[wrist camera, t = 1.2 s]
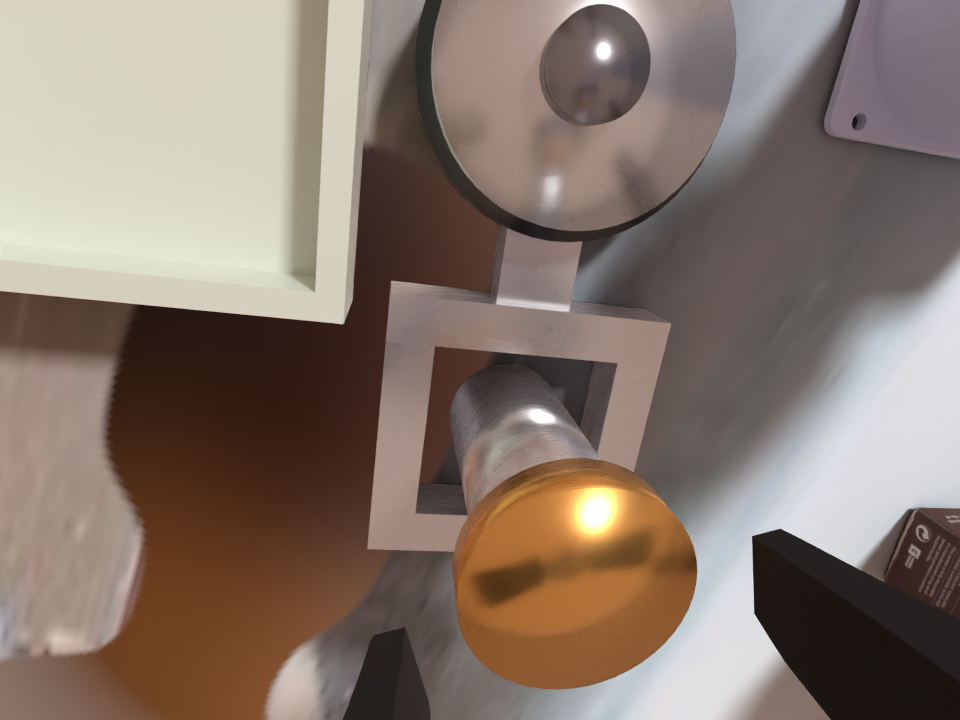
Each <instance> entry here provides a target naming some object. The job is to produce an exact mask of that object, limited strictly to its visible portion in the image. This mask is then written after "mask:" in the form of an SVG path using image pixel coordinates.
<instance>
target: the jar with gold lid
mask: <svg viewBox="0 0 960 720" xmlns="http://www.w3.org/2000/svg"><path fill="white" fill-rule="evenodd" d="M450 426H451V431H452V436H453V441H454V447H455V452H456V457H457V462H458V467H459V472H460V477H461V483H462V488H463V493H464V498H465V503H466V508H467V513H468V518H467V519H466V521H465V523H464V525H463V527H462V528H461V531H460V533H459V536H458V538H457V541H456V545H455V549H454V554H453V565H452V569H453V580H454V588H455V596H456V604H457V612H458V619H459V624H460V627H461V631H462V634H463V636H464V638H465V641H466V643H467V645H468V646H469V648H470V649H471V651H472V652H473V654H474V655H475V656H476V657H477V658H478V659H479V660H480V661H481V662H482V663H483V664H484V665H485V666H486V667H488V668H489V669H490V670H491V671H493V672H494V673H496V674H498V675H500V676H501V677H503V678H505V679H508V680H510V681H513V682H515V683H518V684H522V685H525V686H529V687H535V688H542V689H570V688H577V687H583V686H588V685H592V684H596V683H600V682H603V681H605V680H608V679H611V678H614V677H616V676H618V675H620V674H622V673H624V672H626V671H628V670H630V669H632V668H633V667H635V666H637V665H638V664H640V663H642V662H643V661H644V660H646V659H647V658H648V657H650V656H651V655H652V654H654V653H655V652H656V651H657V650H658V649H659V648H660V647H661V646H662V645H663V644H664V643H665V642H666V641H667V640H668V639H669V638H670V637H671V635H672V634H673V633H674V632H675V630H676V629H677V627H678V626H679V625H680V623H681V622H682V620H683V618H684V616H685V614H686V613H687V611H688V609H689V606H690V603H691V601H692V598H693V595H694V591H695V586H696V578H697V562H696V556H695V551H694V547H693V544H692V542H691V540H690V537H689V535H688V533H687V532H686V530H685V529H684V527H683V525H682V524H681V523H680V521H679V520H678V519H677V518H676V516H675V515H674V514H673V513H672V511H671V510H670V509H669V508H668V506H667V505H666V504H665V503H664V501H663V500H662V499H661V498H660V496H659V495H658V494H657V493H656V492H655V490H654V489H653V488H652V487H651V486H650V485H649V484H648V483H647V482H646V481H645V480H644V479H642V478H641V477H640V476H639V475H637V474H635V473H634V472H632V471H630V470H629V469H627V468H624V467H622V466H619V465H617V464H614V463H611V462H607V461H603V460H601V459H600V457H599V456H598V454H597V453H596V451H595V450H594V449H593V447H592V446H591V444H590V443H589V441H588V440H587V438H586V437H585V436H584V434H583V433H582V431H581V430H580V428H579V427H578V426H577V424H576V423H575V421H574V420H573V418H572V417H571V416H570V414H569V413H568V411H567V410H566V408H565V407H564V405H563V404H562V403H561V401H560V400H559V398H558V397H557V395H556V394H555V393H554V391H553V390H552V388H551V387H550V385H549V384H548V383H547V381H546V380H545V379H544V378H543V377H542V376H541V375H539V374H538V373H537V372H535V371H534V370H532V369H530V368H527V367H525V366H521V365H517V364H497V365H493V366H489V367H486V368H484V369H482V370H480V371H478V372H476V373H475V374H473V375H472V376H470V377H469V378H468V379H467V380H466V381H465V382H464V383H463V384H462V385H461V386H460V388H459V389H458V391H457V392H456V394H455V396H454V398H453V401H452V404H451V409H450Z"/></svg>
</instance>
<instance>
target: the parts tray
mask: <svg viewBox="0 0 960 720" xmlns="http://www.w3.org/2000/svg"><path fill="white" fill-rule="evenodd" d="M372 7H373V0H0V291H6V292H17V293H27V294H37V295H48V296H58V297H69V298H79V299H89V300H100V301H110V302H120V303H131V304H141V305H152V306H162V307H172V308H183V309H193V310H203V311H214V312H224V313H235V314H244V315H255V316H265V317H275V318H286V319H296V320H307V321H317V322H327V323H337V324H344V321H345V319H346V316H347V313H348V311H349V308H350V306H351V303H352V300H353V285H354V270H355V255H356V241H357V240H356V239H357V226H358V212H359V211H358V210H359V197H360V182H361V168H362V153H363V138H364V124H365V109H366V94H367V80H368V65H369V50H370V36H371V21H372Z"/></svg>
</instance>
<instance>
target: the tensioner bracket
mask: <svg viewBox="0 0 960 720" xmlns="http://www.w3.org/2000/svg"><path fill="white" fill-rule="evenodd" d="M735 62H736V31H735V23H734V16H733V9H732V5H731V1H730V0H426V1H425V5H424V8H423V12H422V15H421V19H420V24H419V30H418V37H417V43H416V51H415V67H414V85H415V96H416V105H417V109H418V114H419V119H420V124H421V127H422V130H423V133H424V136H425V139H426V142H427V144H428V146H429V149H430V151H431V153H432V155H433V157H434V159H435V161H436V163H437V165H438V166H439V168H440V169H441V171H442V172H443V174H444V176H445V177H446V179H447V180H448V181H449V182H450V184H451V185H452V186H453V187H454V188H455V190H456V191H457V192H458V193H459V194H460V195H461V196H462V197H463V198H464V199H465V200H466V201H467V202H468V203H469V204H470V205H471V206H473V207H474V208H475V209H476V210H478V211H479V212H481V213H482V214H484V215H485V216H486V217H488V218H489V219H491V220H493V221H495V222H497V223H499V229H498V236H497V242H496V249H495V256H494V263H493V270H492V277H491V284H490V291H489V292H488V291H479V290H470V289H461V288H452V287H442V286H433V285H424V284H416V283H407V282H397V281H391V290H390V300H389V311H388V322H387V334H386V345H385V356H384V367H383V379H382V390H381V401H380V412H379V424H378V434H377V446H376V457H375V468H374V479H373V491H372V502H371V513H370V524H369V536H368V547H367V549H378V550H380V549H381V550H413V551H448V552H454V549H455V545H456V541H457V538H458V536H459V533H460V531H461V528H462V527H463V525H464V523H465V521H466V519H467V518H468V513H467V508H466V503H465V498H464V493H463V488H462V485H454V484H434V483H419V478H420V469H421V461H422V452H423V444H424V435H425V427H426V418H427V409H428V401H429V393H430V384H431V376H432V367H433V359H434V350H435V346H438V347H448V348H460V349H470V350H481V351H492V352H502V353H513V354H524V355H535V356H546V357H557V358H567V359H578V360H589V361H594V363H593V368H592V373H591V377H590V382H589V387H588V392H587V396H586V401H585V406H584V411H583V415H582V420H581V425H580V430H581V431H582V433H583V434H584V436H585V437H586V438H587V440H588V441H589V443H590V444H591V446H592V447H593V449H594V450H595V451H596V453H597V454H598V456H599V457H600V459H601V460H603V461H607V462H611V463H614V464H617V465H619V466H622V467H624V468H627V469H629V470H630V471H632V472H634V470H635V466H636V462H637V458H638V454H639V450H640V446H641V442H642V438H643V434H644V430H645V426H646V422H647V418H648V414H649V410H650V406H651V402H652V398H653V394H654V390H655V386H656V382H657V378H658V375H659V371H660V367H661V363H662V359H663V355H664V351H665V347H666V343H667V339H668V335H669V331H670V327H671V323H670V322H668V321H666V320H664V319H662V318H661V317H659V316H657V315H655V314H653V313H652V312H650V311H648V310H646V309H640V308H631V307H622V306H613V305H605V304H596V303H587V302H578V301H571V299H572V293H573V288H574V283H575V278H576V273H577V267H578V262H579V257H580V252H581V246H582V241H590V240H595V239H600V238H604V237H608V236H611V235H614V234H617V233H619V232H622V231H625V230H627V229H629V228H631V227H633V226H635V225H637V224H639V223H641V222H643V221H644V220H646V219H647V218H649V217H650V216H652V215H653V214H655V213H656V212H657V211H659V210H660V209H661V208H662V207H664V206H665V205H666V204H667V203H668V202H669V201H670V200H672V199H673V198H674V197H675V196H676V195H677V194H678V193H679V192H680V190H681V189H682V188H683V187H684V186H685V185H686V184H687V183H688V182H689V180H690V179H691V177H692V176H693V175H694V173H695V172H696V171H697V169H698V168H699V166H700V165H701V163H702V162H703V160H704V158H705V156H706V155H707V153H708V151H709V149H710V148H711V146H712V143H713V141H714V139H715V137H716V135H717V133H718V131H719V128H720V126H721V124H722V121H723V119H724V116H725V113H726V109H727V106H728V103H729V100H730V96H731V90H732V85H733V80H734V74H735Z"/></svg>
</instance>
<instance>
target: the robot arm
mask: <svg viewBox="0 0 960 720" xmlns="http://www.w3.org/2000/svg"><path fill="white" fill-rule="evenodd" d="M855 116H856V117H857V125H856V127H855V129H853V127H852V120H853V118H854V117H855ZM824 127H825V131H826V132H827V133H828V135H831V136H833V137H838V138H844V139H849V140H855V141H860V142H866V143H871V144H877V145H882V146H888V147H893V148H899V149H905V150H910V151H916V152H921V153H927V154H932V155H938V156H943V157H949V158H954V159H960V0H860V4H859V7H858V10H857V13H856V17H855V20H854V23H853V27H852V30H851V33H850V36H849V40H848V43H847V46H846V50H845V53H844V56H843V60H842V63H841V66H840V69H839V73H838V76H837V79H836V83H835V86H834V89H833V92H832V96H831V99H830V102H829V106H828V109H827V112H826V116H825V120H824ZM752 545H753V581H754V614H755V615H756V617H757V618H758V620H759V622H760V623H761V625H762V626H763V628H764V630H765V631H766V633H767V635H768V636H769V638H770V639H771V641H772V642H773V644H774V646H775V647H776V649H777V650H778V652H779V653H780V655H781V656H782V658H783V659H784V661H785V662H786V664H787V665H788V666H789V667H790V669H791V670H792V671H793V673H794V674H795V675H796V676H797V678H798V679H799V680H800V681H801V683H802V684H803V685H804V686H805V688H806V689H807V690H808V691H809V693H810V694H811V695H812V696H813V698H814V699H815V700H816V701H817V703H818V704H819V705H820V706H821V708H822V709H823V710H824V711H825V713H826V714H827V715H828V716H829V718H830V719H831V720H960V618H957V617H955V616H953V615H951V614H949V613H946V612H944V611H942V610H940V609H938V608H936V607H933V606H931V605H929V604H927V603H925V602H923V601H921V600H919V599H917V598H915V597H913V596H910V595H908V594H906V593H904V592H902V591H900V590H898V589H896V588H894V587H892V586H890V585H888V584H886V583H884V582H882V581H880V580H878V579H876V578H874V577H872V576H871V575H869V574H867V573H865V572H863V571H861V570H859V569H857V568H855V567H853V566H851V565H849V564H847V563H845V562H844V561H842V560H840V559H838V558H836V557H834V556H832V555H830V554H828V553H826V552H825V551H823V550H821V549H819V548H817V547H815V546H813V545H811V544H809V543H807V542H805V541H804V540H802V539H800V538H798V537H796V536H794V535H792V534H790V533H788V532H786V531H784V530H782V529H778V530H774V531H770V532H766V533H763V534H759V535H755V536H752ZM343 720H431V719H430V710H429V701H428V698H427V695H426V692H425V689H424V686H423V682H422V679H421V676H420V673H419V670H418V667H417V663H416V660H415V657H414V654H413V651H412V648H411V644H410V641H409V638H408V635H407V632H406V629H405V627H404V628H400V629H397V630H393V631H389V632H385V633H381V634H378V635H374V637H373V638H372V640H371V641H370V644H369V647H368V651H367V654H366V657H365V660H364V663H363V666H362V669H361V672H360V675H359V678H358V681H357V684H356V686H355V689H354V692H353V694H352V697H351V700H350V703H349V705H348V708H347V711H346V713H345V715H344V718H343Z"/></svg>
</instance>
